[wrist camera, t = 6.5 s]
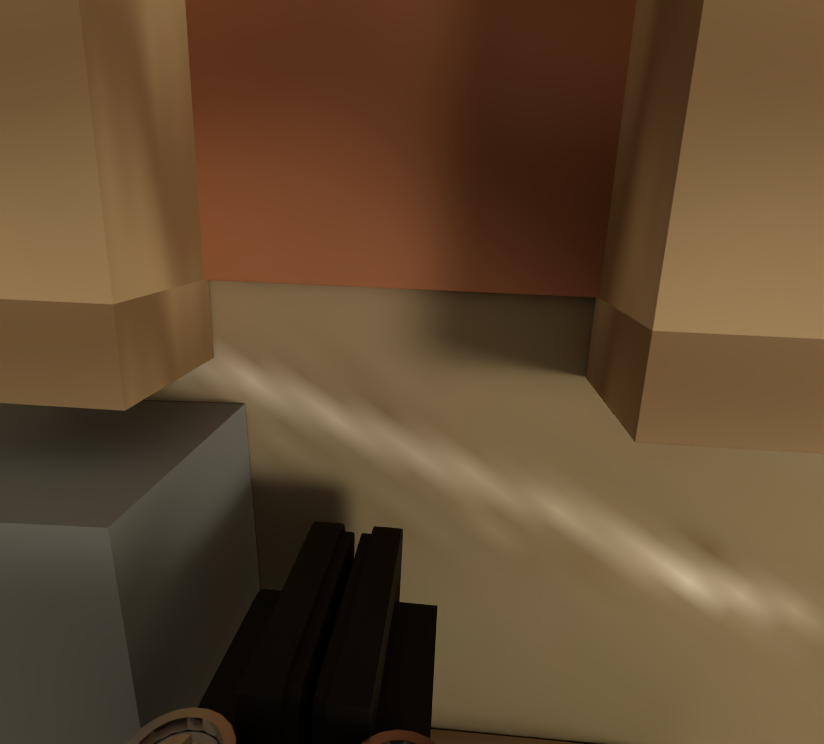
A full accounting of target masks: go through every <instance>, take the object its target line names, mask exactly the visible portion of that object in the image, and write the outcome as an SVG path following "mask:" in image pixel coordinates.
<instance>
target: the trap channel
mask: <svg viewBox="0 0 824 744" xmlns="http://www.w3.org/2000/svg"><path fill="white" fill-rule="evenodd" d="M209 280H222V281H244V282H266V283H288V284H310V285H332V286H354V287H376V288H398V289H420V290H442V291H464V292H486V293H509V294H531V295H553V296H575V297H596V301H595V309H594V316H593V324H592V332H591V340H590V348H589V356H588V364H587V372H586V379H587V380H588V381H589V382H590V384H591V385H592V386H593V388H594V389H595V390H596V392H597V393H598V394H599V395H600V397H601V398H602V399H603V401H604V402H605V403H606V405H607V406H608V407H609V409H610V410H611V411H612V412H613V414H614V415H615V416H616V418H617V419H618V420H619V422H620V423H621V424H622V426H623V427H624V428H625V429H626V431H627V432H628V433H629V435H630V436H631V437H632V439H633V440H634V441H635V442H642V443H659V444H675V445H691V446H707V447H724V448H740V449H756V450H772V451H789V452H805V453H821V454H824V0H0V403H9V404H25V405H41V406H57V407H74V408H90V409H106V410H122V411H125V410H127V409H129V408H130V407H132V406H134V405H135V404H137V403H139V402H140V401H142V400H144V399H145V398H147V397H149V396H150V395H152V394H154V393H155V392H157V391H159V390H160V389H162V388H164V387H165V386H167V385H168V384H170V383H172V382H173V381H175V380H177V379H178V378H180V377H182V376H183V375H185V374H187V373H188V372H190V371H192V370H193V369H195V368H197V367H198V366H200V365H202V364H203V363H205V362H207V361H208V360H210V359H212V358H213V357H214V354H213V339H212V324H211V308H210V293H209ZM430 739H431V740H432V741H434V742H435V743H436V744H582V743H572V742H562V741H551V740H541V739H531V738H520V737H510V736H499V735H489V734H479V733H468V732H458V731H447V730H437V729H431V733H430Z"/></svg>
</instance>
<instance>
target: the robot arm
mask: <svg viewBox="0 0 824 744" xmlns="http://www.w3.org/2000/svg"><path fill="white" fill-rule="evenodd" d="M402 540H403V529H399V528H388V527H376V526H374V528H373V531H372V534H366V533H362V534H361V537H360V541H359V544H358V548H357V551H356V554H355V558H354V532H345V527H344V524H342V523H330V522H319V521H315V522H314V523H313V525H312V527H311V529H310V531H309V533H308V536H307V538H306V540H305V542H304V544H303V546H302V549H301V551H300V553H299V555H298V557H297V559H296V562H295V564H294V566H293V568H292V570H291V572H290V575H289V577H288V579H287V581H286V583H285V585H284V588H283V590H282V591H277V590H266V589H262V590H260V591H259V592H258V593H257V595H256V596H255V598H254V600H253V602H252V604H251V606H250V608H249V610H248V612H247V613H246V615H245V617H244V619H243V621H242V623H241V625H240V627H239V629H238V631H237V633H236V634H235V636H234V638H233V640H232V642H231V644H230V646H229V648H228V650H227V652H226V654H225V656H224V657H223V659H222V661H221V663H220V665H219V667H218V669H217V671H216V673H215V675H214V677H213V678H212V680H211V682H210V684H209V686H208V688H207V690H206V692H205V694H204V696H203V698H202V699H201V701H200V703H199V705H198V707H197V708H195V707H192V708H185V709H179V710H174V711H172V712H169V713H167V714H164V715H162V716H159V717H157V718H155V719H154V720H152V721H151V722H149V723H148V724H146V725H145V726H143V727H142V728H140V729H139V730H138V732H137V733H136V734H135V735H134V736H133V737H132V738H131V739H130V740H129V741H128V742H127V743H126V744H436V743H435V742H434V741H432V740H431V739H430V733H431V715H432V696H433V677H434V658H435V639H436V620H437V606H435V605H424V604H413V603H403V602H399V598H400V579H401V560H402Z"/></svg>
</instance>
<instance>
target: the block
mask: <svg viewBox="0 0 824 744" xmlns="http://www.w3.org/2000/svg"><path fill="white" fill-rule="evenodd" d="M259 591H260V583H259V571H258V558H257V546H256V534H255V522H254V509H253V497H252V485H251V472H250V460H249V448H248V436H247V423H246V411H245V404H235V403H202V402H170V401H140V402H139V403H137V404H135V405H134V406H132V407H130V408H129V409H127V410H125V411H122V410H106V409H90V408H74V407H57V406H41V405H25V404H9V403H0V744H126V743H127V742H128V741H129V740H130V739H131V738H132V737H133V736H134V735H135V734H136V733H137V732H138V730H139V729H140V728H142V727H143V726H145V725H146V724H148V723H149V722H151V721H152V720H154V719H155V718H157V717H159V716H162V715H164V714H167V713H169V712H172V711H174V710H179V709H185V708H192V707H195V708H197V707H198V705H199V703H200V701H201V699H202V698H203V696H204V694H205V692H206V690H207V688H208V686H209V684H210V682H211V680H212V678H213V677H214V675H215V673H216V671H217V669H218V667H219V665H220V663H221V661H222V659H223V657H224V656H225V654H226V652H227V650H228V648H229V646H230V644H231V642H232V640H233V638H234V636H235V634H236V633H237V631H238V629H239V627H240V625H241V623H242V621H243V619H244V617H245V615H246V613H247V612H248V610H249V608H250V606H251V604H252V602H253V600H254V598H255V596H256V595H257V593H258V592H259Z"/></svg>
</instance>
